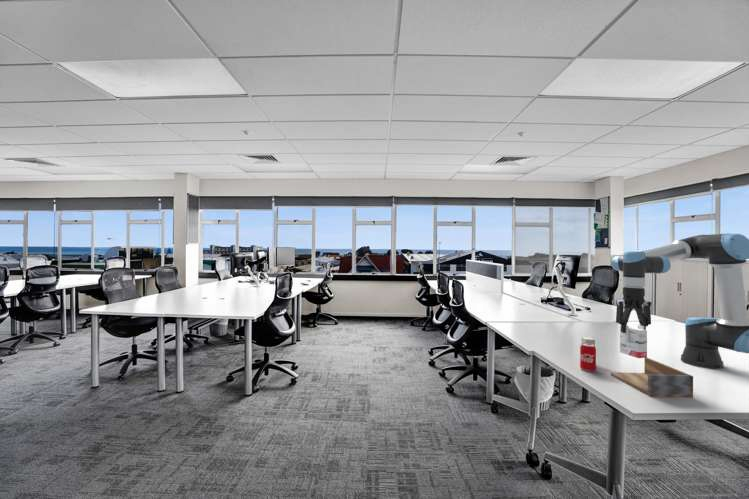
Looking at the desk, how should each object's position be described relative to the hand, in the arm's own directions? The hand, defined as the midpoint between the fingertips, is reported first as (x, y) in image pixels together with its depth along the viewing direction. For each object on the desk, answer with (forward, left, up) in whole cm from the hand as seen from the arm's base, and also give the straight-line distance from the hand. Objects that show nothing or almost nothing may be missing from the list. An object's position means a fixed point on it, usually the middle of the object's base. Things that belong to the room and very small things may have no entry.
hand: (633, 340), depth 142 cm
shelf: (-3, +5, -17) cm, 18 cm away
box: (+7, -20, -18) cm, 28 cm away
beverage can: (+12, -12, -18) cm, 24 cm away
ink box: (0, 0, -7) cm, 7 cm away
